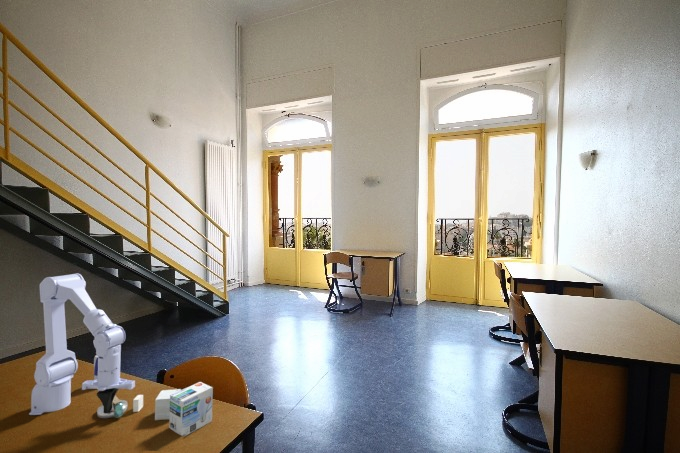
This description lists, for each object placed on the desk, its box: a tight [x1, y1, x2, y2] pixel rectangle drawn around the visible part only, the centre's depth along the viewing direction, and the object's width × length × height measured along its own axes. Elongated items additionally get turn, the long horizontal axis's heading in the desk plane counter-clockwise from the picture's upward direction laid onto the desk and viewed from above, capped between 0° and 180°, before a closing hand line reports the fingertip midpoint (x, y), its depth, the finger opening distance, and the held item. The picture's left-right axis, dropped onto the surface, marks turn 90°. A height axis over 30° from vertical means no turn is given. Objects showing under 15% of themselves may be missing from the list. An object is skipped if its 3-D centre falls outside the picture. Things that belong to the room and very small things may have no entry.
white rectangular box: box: [132, 394, 144, 413], centre depth 109 cm, size 2×3×4 cm, turn 4°
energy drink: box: [93, 354, 98, 380], centre depth 124 cm, size 5×5×12 cm
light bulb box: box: [169, 381, 214, 438], centre depth 102 cm, size 11×7×11 cm, turn 148°
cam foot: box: [96, 395, 128, 419], centre depth 106 cm, size 11×8×4 cm
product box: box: [154, 388, 182, 421], centre depth 107 cm, size 6×6×7 cm
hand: (108, 411), depth 103 cm, fingers closed, pressing on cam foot
